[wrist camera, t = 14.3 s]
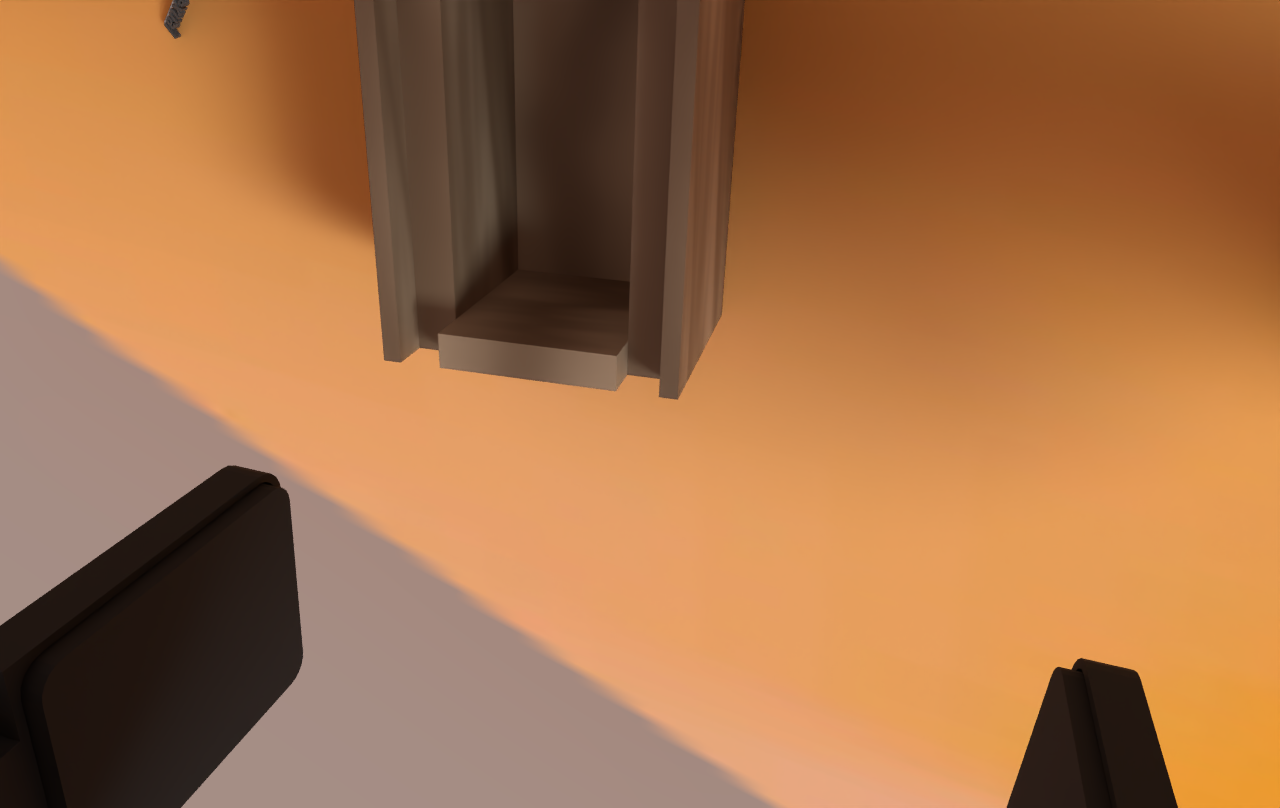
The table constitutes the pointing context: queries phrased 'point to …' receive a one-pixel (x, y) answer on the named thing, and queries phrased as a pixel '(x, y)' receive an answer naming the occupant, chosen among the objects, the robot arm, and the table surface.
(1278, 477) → the table surface
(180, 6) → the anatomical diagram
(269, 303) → the table surface
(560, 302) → the box
